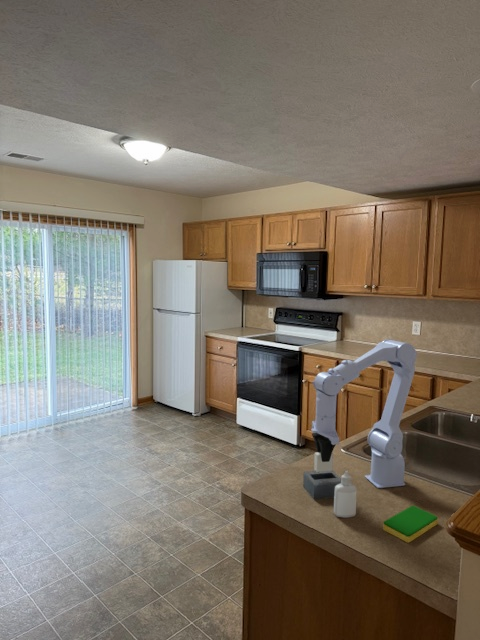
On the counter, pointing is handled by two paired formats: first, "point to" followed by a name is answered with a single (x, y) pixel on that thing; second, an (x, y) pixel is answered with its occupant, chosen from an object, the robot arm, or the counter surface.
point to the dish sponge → (410, 523)
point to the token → (322, 463)
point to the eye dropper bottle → (345, 497)
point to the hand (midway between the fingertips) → (323, 459)
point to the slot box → (320, 483)
